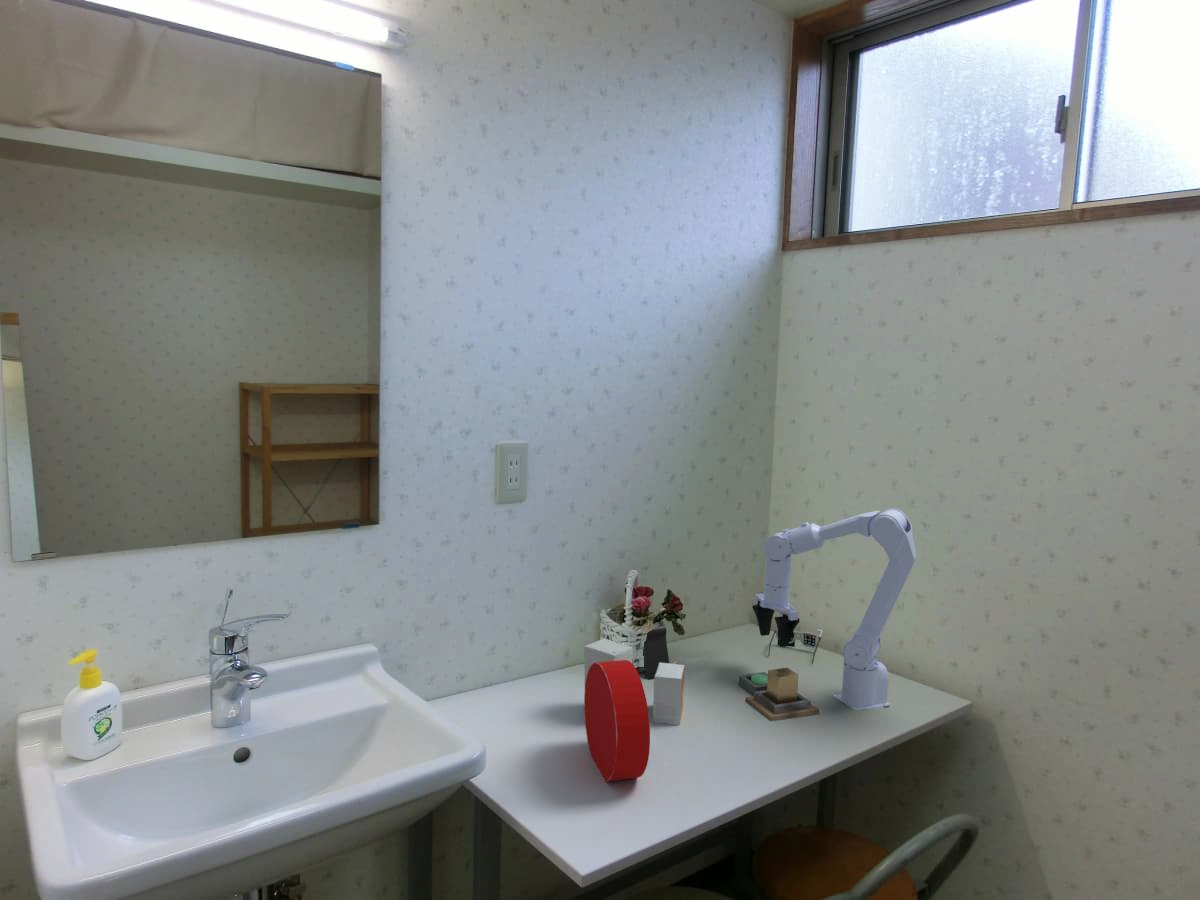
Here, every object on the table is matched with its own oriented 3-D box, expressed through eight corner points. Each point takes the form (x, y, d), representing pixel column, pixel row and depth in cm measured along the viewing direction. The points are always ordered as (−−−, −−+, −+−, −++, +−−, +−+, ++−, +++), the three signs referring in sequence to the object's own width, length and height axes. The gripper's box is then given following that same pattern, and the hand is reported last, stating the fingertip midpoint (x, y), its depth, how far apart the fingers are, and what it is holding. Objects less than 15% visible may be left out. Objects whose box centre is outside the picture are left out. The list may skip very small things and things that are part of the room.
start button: (762, 681, 179) (762, 672, 179) (772, 688, 175) (772, 679, 175) (747, 684, 177) (748, 674, 177) (757, 691, 174) (757, 681, 174)
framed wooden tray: (790, 694, 174) (791, 684, 173) (819, 713, 164) (819, 702, 164) (745, 701, 169) (745, 690, 169) (771, 721, 160) (772, 710, 160)
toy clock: (647, 800, 129) (652, 686, 127) (614, 805, 128) (618, 689, 126) (612, 744, 148) (615, 643, 146) (582, 747, 147) (585, 646, 145)
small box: (679, 729, 155) (681, 679, 154) (652, 725, 157) (654, 676, 155) (683, 712, 163) (685, 664, 162) (657, 709, 164) (659, 661, 163)
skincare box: (632, 720, 159) (635, 647, 157) (611, 730, 154) (614, 655, 152) (603, 707, 164) (605, 636, 163) (581, 716, 160) (583, 644, 158)
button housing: (764, 680, 181) (764, 672, 181) (781, 693, 174) (782, 683, 174) (738, 684, 178) (738, 675, 178) (755, 697, 172) (755, 687, 172)
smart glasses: (823, 645, 204) (823, 628, 203) (814, 673, 192) (814, 655, 190) (777, 637, 209) (778, 620, 208) (765, 664, 197) (766, 646, 195)
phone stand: (671, 679, 180) (673, 630, 179) (649, 683, 177) (651, 633, 176) (652, 665, 188) (653, 618, 187) (630, 669, 185) (632, 621, 184)
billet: (785, 698, 169) (787, 667, 169) (796, 705, 166) (798, 674, 165) (766, 701, 168) (768, 670, 167) (777, 708, 164) (779, 677, 163)
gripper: (745, 577, 185) (742, 631, 186) (781, 594, 172) (777, 653, 173) (770, 575, 188) (767, 629, 189) (807, 591, 174) (803, 649, 176)
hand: (773, 640), depth 181 cm, fingers open, 7 cm apart
